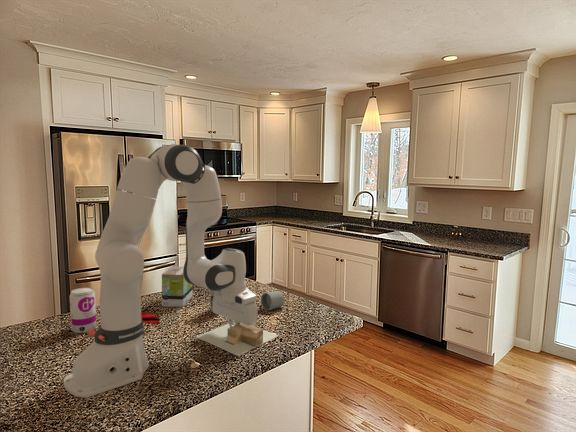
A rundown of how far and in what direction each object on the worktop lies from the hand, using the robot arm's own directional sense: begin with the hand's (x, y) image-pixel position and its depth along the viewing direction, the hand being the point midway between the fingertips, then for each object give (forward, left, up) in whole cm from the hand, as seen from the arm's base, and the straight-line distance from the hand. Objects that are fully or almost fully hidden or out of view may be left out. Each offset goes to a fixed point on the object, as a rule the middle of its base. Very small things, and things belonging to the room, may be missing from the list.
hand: (234, 330), depth 135 cm
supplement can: (-32, +47, -2) cm, 57 cm away
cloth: (-12, +43, -3) cm, 45 cm away
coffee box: (+15, +24, -2) cm, 29 cm away
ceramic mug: (+30, +10, -2) cm, 32 cm away
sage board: (0, -2, -2) cm, 3 cm away
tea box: (+9, +47, -2) cm, 48 cm away
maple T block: (0, -7, -2) cm, 7 cm away
